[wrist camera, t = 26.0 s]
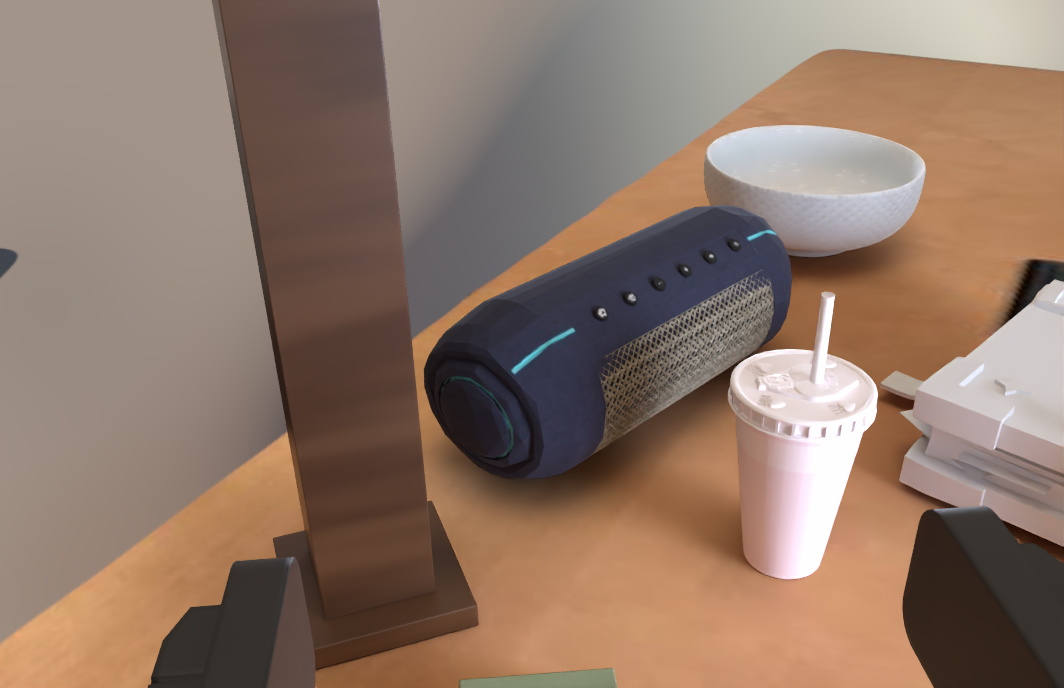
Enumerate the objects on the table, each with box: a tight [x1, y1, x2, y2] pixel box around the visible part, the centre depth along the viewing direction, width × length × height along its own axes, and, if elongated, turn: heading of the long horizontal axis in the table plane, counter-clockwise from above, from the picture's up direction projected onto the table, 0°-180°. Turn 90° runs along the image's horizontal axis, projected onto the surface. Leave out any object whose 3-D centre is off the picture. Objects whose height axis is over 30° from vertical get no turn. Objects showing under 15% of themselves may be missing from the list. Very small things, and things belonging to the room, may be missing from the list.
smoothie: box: [728, 292, 878, 579], centre depth 45 cm, size 6×6×14 cm
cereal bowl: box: [704, 125, 926, 257], centre depth 79 cm, size 17×17×7 cm
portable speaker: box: [424, 205, 792, 479], centre depth 58 cm, size 25×10×10 cm, turn 135°
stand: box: [212, 0, 478, 670], centre depth 38 cm, size 10×8×31 cm
